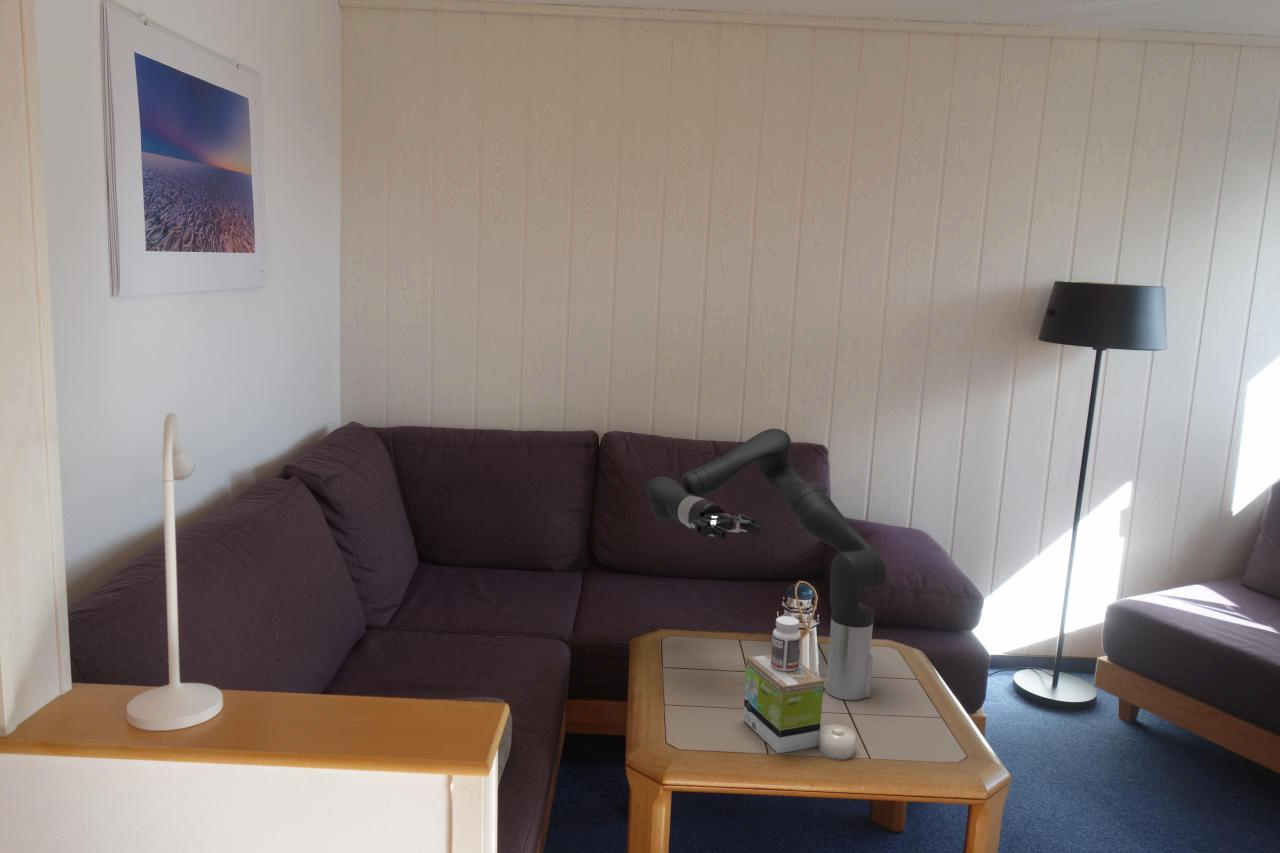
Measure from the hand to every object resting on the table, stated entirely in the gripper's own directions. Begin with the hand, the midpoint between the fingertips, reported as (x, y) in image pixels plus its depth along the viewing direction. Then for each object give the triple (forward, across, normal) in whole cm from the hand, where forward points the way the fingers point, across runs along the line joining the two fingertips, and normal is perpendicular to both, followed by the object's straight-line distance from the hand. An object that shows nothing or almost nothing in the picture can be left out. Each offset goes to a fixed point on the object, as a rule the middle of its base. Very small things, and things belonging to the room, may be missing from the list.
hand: (742, 533), depth 214 cm
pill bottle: (+18, 0, -24) cm, 29 cm away
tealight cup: (+28, -6, -38) cm, 48 cm away
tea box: (+18, 0, -38) cm, 42 cm away
